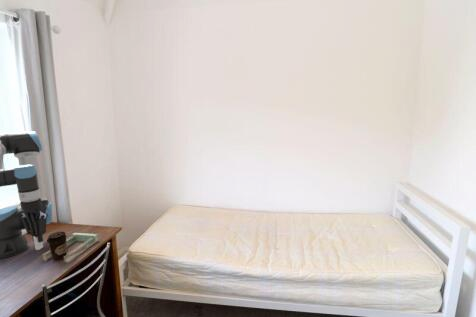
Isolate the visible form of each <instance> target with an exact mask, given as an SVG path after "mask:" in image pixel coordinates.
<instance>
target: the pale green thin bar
mask: <svg viewBox="0 0 476 317" xmlns="http://www.w3.org/2000/svg"><path fill="white" fill-rule="evenodd" d="M66 241H67V242H66V243H67V248H68V247H69V246H71V245H73V244H74V243H75V242H77V241H76V238H75V236H72V235H71V236H70V237H68V238H66ZM41 258H42V259H41V260H42V261H44V262H47V261H48V260H49V259H51V258H52V255H51V252H50V249H49V250H47V251H46V252H44V253H42V254H41Z"/></svg>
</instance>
